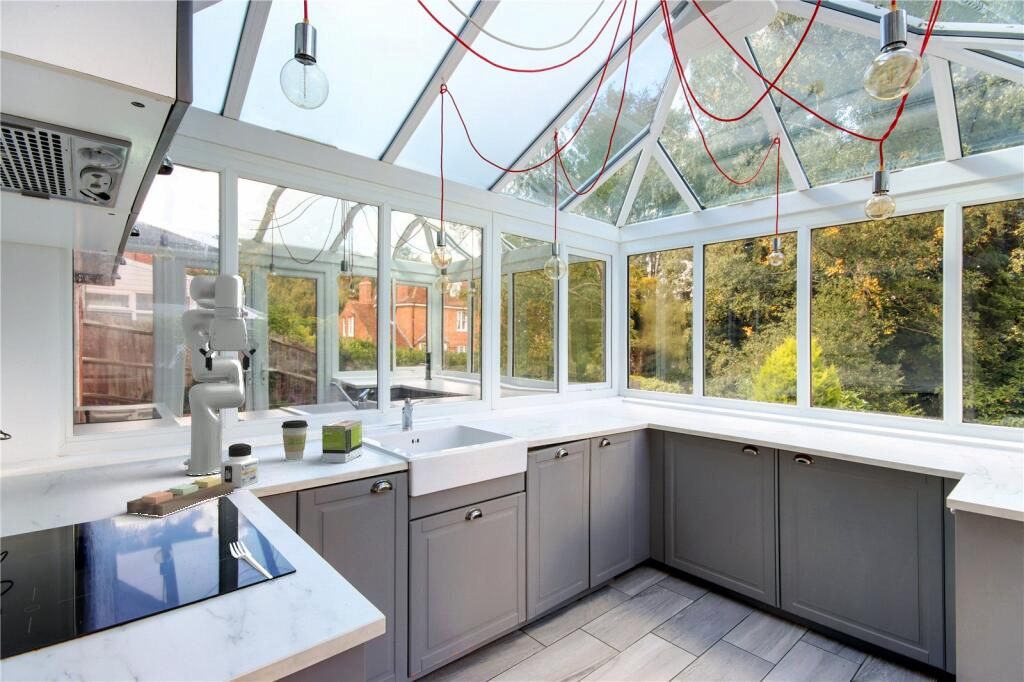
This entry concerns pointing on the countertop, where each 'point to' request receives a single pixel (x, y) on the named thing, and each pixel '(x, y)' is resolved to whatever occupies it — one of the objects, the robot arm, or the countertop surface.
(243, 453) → the container
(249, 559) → the fork
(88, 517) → the countertop surface
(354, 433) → the tea box
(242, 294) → the robot arm
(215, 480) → the ochre key
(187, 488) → the sage key
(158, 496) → the terracotta key
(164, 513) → the key panel
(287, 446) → the coffee cup
